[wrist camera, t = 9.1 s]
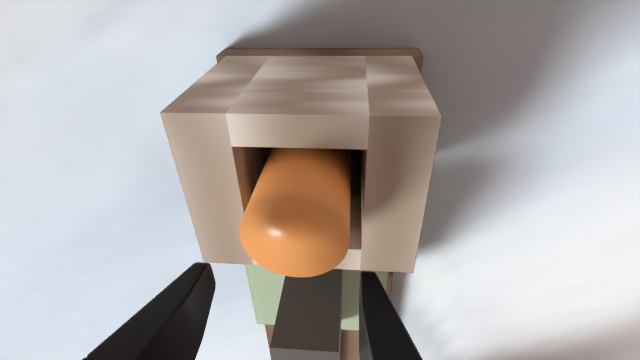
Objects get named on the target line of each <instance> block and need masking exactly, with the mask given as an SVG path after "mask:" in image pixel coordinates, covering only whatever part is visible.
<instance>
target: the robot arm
mask: <svg viewBox="0 0 640 360" xmlns="http://www.w3.org/2000/svg"><path fill="white" fill-rule="evenodd" d="M214 291H215V278H214V275H213V271H212V268H211V265H210V264H209V263H201V262H197V263H194V264H193V265H192V266H190V267H189V268H188V269H187V270H186V271H185V272H184V273H182V274H181V275H180V276H179V277H178V278H177V279H175V280H174V281H173V282H172V283H171V284H170V285H168V286H167V287H166V288H165V289H164V290H163V291H161V292H160V293H159V294H158V295H157V296H156V297H154V298H153V299H152V300H151V301H150V302H149V303H148V304H146V305H145V306H144V307H143V308H142V309H141V310H139V311H138V312H137V313H136V314H135V315H134V316H132V317H131V318H130V319H129V320H128V321H127V322H125V323H124V324H123V325H122V326H121V327H120V328H118V329H117V330H116V331H115V332H114V333H113V334H112V335H110V336H109V337H108V338H107V339H106V340H105V341H103V342H102V343H101V344H100V345H99V346H98V347H96V348H95V349H94V350H93V351H92V352H91V353H89V354H88V356H87V358H83V359H82V360H195V358H196V355H197V353H198V350H199V347H200V344H201V341H202V338H203V335H204V331H205V327H206V323H207V319H208V315H209V311H210V307H211V303H212V299H213V295H214ZM359 357H360V360H423V359H422V358H421V356H420V354H419V352H418V350H417V348H416V346H415V344H414V343H413V341H412V339H411V337H410V335H409V333H408V331H407V330H406V328H405V326H404V324H403V322H402V320H401V318H400V317H399V315H398V313H397V311H396V309H395V307H394V305H393V304H392V302H391V300H390V298H389V296H388V294H387V292H386V290H385V289H384V287H383V285H382V283H381V281H380V279H379V277H378V276H377V274H376V273H375V272H374V271H362V272H361V273H360V287H359Z"/></svg>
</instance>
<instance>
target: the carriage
mask: <svg viewBox="0 0 640 360" xmlns="http://www.w3.org/2000/svg"><path fill="white" fill-rule="evenodd" d="M245 267H246V271H247V276H248V281H249V286H250V291H251V296H252V301H253V306H254V311H255V316H256V321H257V324H268V325H274V330H273V335H272V339H271V344H270V352H271V357H272V360H340V342H341V329H344V330H359V287H360V273H361V272H362V271H367V270H347V269H332V270H330V271H328V272H326V273H324V274H321V275H317V276H312V277H290V276H284V275H281V274H277V273H275V272H272V271H270V270H268V269H266V268H264V267H262V266H261V265H250V264H245ZM374 272H375V273H376V274H377V276H378V277H379V279H380V281H381V283H382V285H383V287H384V289H385V290H386V285H387V277H388V272H386V271H374Z"/></svg>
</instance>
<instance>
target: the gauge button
mask: <svg viewBox="0 0 640 360" xmlns="http://www.w3.org/2000/svg"><path fill="white" fill-rule="evenodd" d="M350 200H351V154H350V151H349V149H321V148H277V147H272V148H271V150H270V153H269V155H268V158H267V160H266V162H265V165H264V167H263V170H262V172H261V174H260V177H259V179H258V182H257V184H256V186H255V189H254V191H253V194H252V196H251V198H250V201H249V203H248V206H247V208H246V210H245V213H244V215H243V218H242V220H241V223H240V227H239V235H240V240H241V243H242V245H243V247H244V249H245V251H246V252H247V253H248V255H249V256H250V257H251V258H252V259H253V260H254V261H255V262H257V263H258V264H259V265H261V266H262V267H264V268H266V269H268V270H270V271H272V272H275V273H277V274H281V275H284V276H290V277H312V276H317V275H321V274H324V273H326V272H328V271H330V270H332V269H334V268H335V267H336V266H338V265H339V264H340V263H341V262H342V261H343V259H344V258H345V256H346V254H347V252H348V249H349V242H350Z"/></svg>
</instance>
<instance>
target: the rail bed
mask: <svg viewBox="0 0 640 360" xmlns="http://www.w3.org/2000/svg"><path fill="white" fill-rule="evenodd" d="M216 58H217V64H216V65H215V66H214V67H213V68H211V69H210V70H209V71H208V72H207V73H206V74H204V75H203V76H202V77H201V78H200V79H199V80H197V81H196V82H195V83H194V84H193V85H192V86H190V87H189V88H188V89H187V90H186V91H185V92H183V93H182V94H181V95H180V96H179V97H178V98H176V99H175V100H174V101H173V102H172V103H171V104H169V105H168V106H167V107H166V108H165V109H164V110H163V111H161V112H160V114H161V117H162V121H163V124H164V128H165V131H166V134H167V138H168V141H169V145H170V148H171V151H172V155H173V158H174V161H175V165H176V168H177V172H178V175H179V178H180V182H181V185H182V189H183V192H184V195H185V199H186V202H187V206H188V209H189V212H190V216H191V219H192V223H193V226H194V229H195V233H196V236H197V240H198V243H199V246H200V250H201V253H202V256H203V260H204V262H211V263H230V264H250V265H259V264H258V263H257V262H255V261H254V260H253V259H252V258H251V257H250V256H249V255H248V253H247V252H246V251H245V249H244V247H243V245H242V243H241V240H240V235H239V227H240V223H241V220H242V218H243V215H244V213H245V210H246V208H247V206H248V203H249V201H250V198H251V196H252V194H253V191H254V189H255V186H256V184H257V182H258V179H259V177H260V174H261V172H262V170H263V167H264V165H265V162H266V160H267V158H268V155H269V153H270V150H271V148H272V147H277V148H321V149H349V151H350V154H351V200H350V242H349V249H348V252H347V254H346V256H345V258H344V259H343V261H342V262H341V263H340V264H339V265H338V266H336V267H335V268H334V269H347V270H367V271H386V272H388V277H387V285H386V292H387V294H388V296H389V298H390V291H391V283H392V276H393V272H406V273H413V271H414V265H415V260H416V255H417V249H418V244H419V238H420V233H421V228H422V222H423V217H424V211H425V206H426V201H427V195H428V190H429V184H430V179H431V174H432V168H433V163H434V157H435V152H436V147H437V141H438V136H439V130H440V125H441V120H442V116H441V114H440V112H439V110H438V107H437V105H436V103H435V101H434V99H433V97H432V95H431V93H430V91H429V89H428V87H427V85H426V83H425V81H424V79H423V77H422V75H421V67H422V59H423V55H422V54H421V52H420V50H419V49H418V48H225V49H224V50H223V51H222V52H220V53H219V54H218V55H217V56H216ZM265 327H266V333H267V338H268V344H269V349H270V344H271V339H272V335H273V330H274V325H268V324H265ZM270 355H271V352H270ZM271 360H272V357H271ZM340 360H360V357H359V330H344V329H341V342H340Z"/></svg>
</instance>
